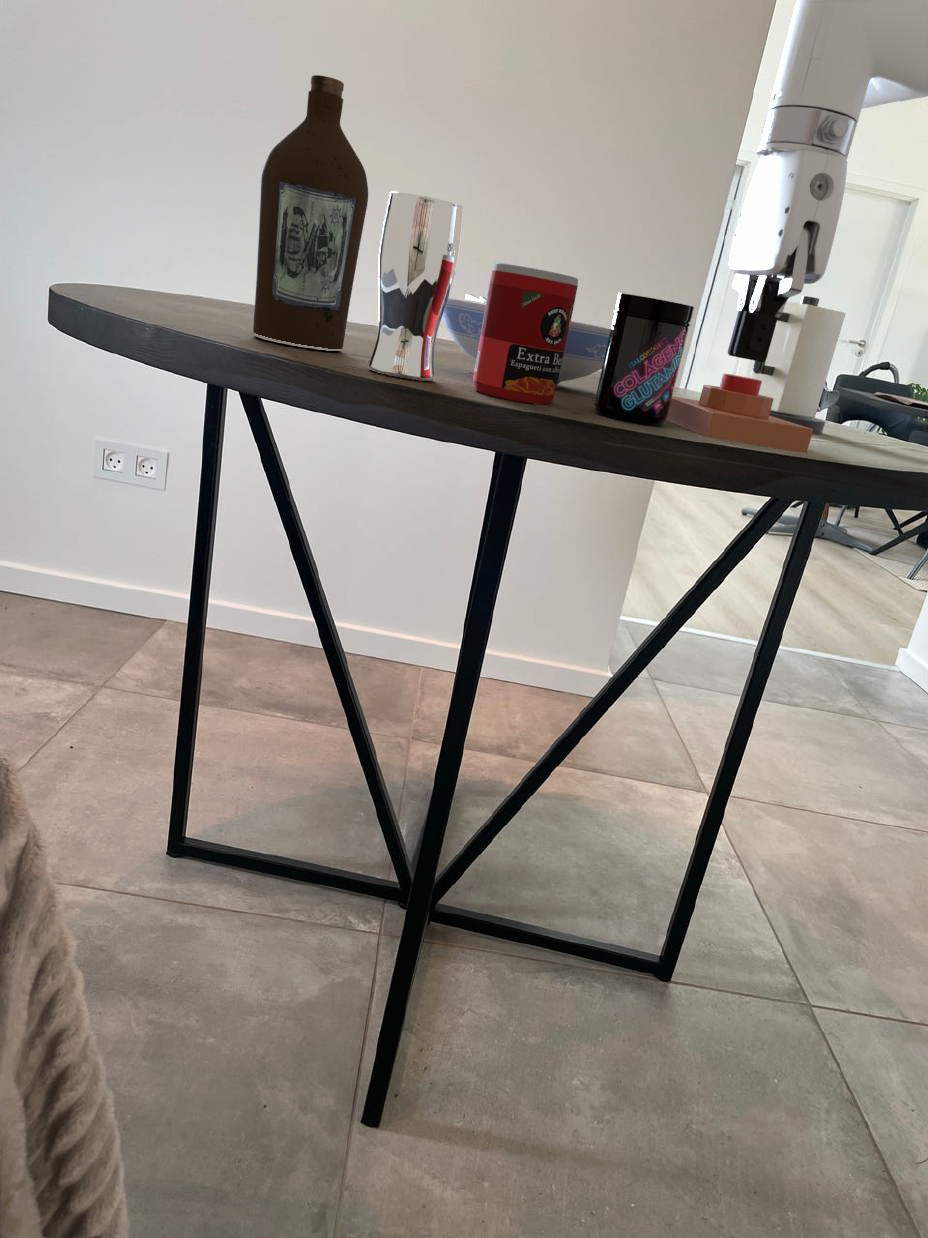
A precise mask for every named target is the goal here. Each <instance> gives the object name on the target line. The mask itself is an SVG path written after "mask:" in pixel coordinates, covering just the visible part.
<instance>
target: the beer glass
mask: <svg viewBox="0 0 928 1238" xmlns="http://www.w3.org/2000/svg"><path fill="white" fill-rule="evenodd" d="M389 193H390V194H389V199H388V204H387V208H386V214H385V217H384V218H385V219H384V221H383V227H382V234H381V239H380V247H379V253H378V314H379V315H378V329H377V335H376V340H375V344H374V347H373V350H372V354H371V357H370V359H369V363H368V368H369V369H371V370H374V371H376V372H380V373H383V374H386V375H391V376H396V377H401V378H407V379H413V380H412V381H414V380H419V381H418V382H423V381H429V382H430V381H432V382H434V380H435V347H436V340H437V336H438V332H439V327H440V326H441V325H440V324H441V322H442V319H443V317H442V315H443V312H444V310H445V307H446V304H447V301H448V298H450V294H451V291H452V288H453V284H454V281H455V277H456V273H457V269H458V264H459V259H460V252H461V245H462V244H461V243H462V234H463V222H464V211H465V207H464V206H463V205H461V204H458V203H455V202H452V201H449V200H444V199H440V198H436V197H431V196H426V195H420V194H414V193H409V192H408V193H407V192H400V191H399V192H398V191H391V192H389ZM369 369H368V370H369ZM386 375H385V376H386ZM391 376H390V377H391ZM396 377H395V378H396ZM401 378H400V379H401ZM407 379H406V380H407ZM429 382H428V383H429Z"/></svg>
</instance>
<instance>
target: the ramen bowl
mask: <svg viewBox="0 0 928 1238" xmlns="http://www.w3.org/2000/svg"><path fill="white" fill-rule="evenodd" d="M466 300H469V301H466ZM486 300H487V297H485V296H479V298H478V297H476V296H474V295H472V294H469V293H465V298H464V300H461V299H455V298H450V297H449V298H448V301H447V304H446V307H445V310H444V312H443V315H442V320H443V321H444V324H445V326H446V328H447V330H448V332H449V335H450V336H451V337H452V339H453V341H454V342H455V344H457V346H458V347H459V348H460V349H462V351H463V352H465V354H467V355H469V356H470V357H471V358H472V359H474V360H475V361H476V359H477V353H478V347H479V341H480V335H481V330H482V324H483V318H484V312H485V306H486ZM477 302H479V303H477ZM610 330H611V327H606V326H599V325H594V324H590V323H583V322H580V321H574V320H571V322H570V327H569V331H568V336H567V341H566V346H565V350H564V355H563V360H562V365H561V369H560V374H559V379H558V384H557V385H559V384H560V383H562V382H568V381H572V380H576V379H580V378H583V377H588V376H590V375H592V374H595V373H597V372H598V371H600V370H602V366H603V361H604V357H605V352H606V348H607V343H608V339H609V334H610Z"/></svg>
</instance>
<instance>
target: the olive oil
mask: <svg viewBox="0 0 928 1238" xmlns="http://www.w3.org/2000/svg"><path fill="white" fill-rule="evenodd" d="M344 87H345V84H344V83H343V81H342V80H339V79H337V78H334V77H330V76H325V75H319V74H315V75H312V76H311V77H310V90H309V91H307V92H308V93H307V102H306V115H305V117H304V119H303V121H302V122H301V123H300V124H298V126H297V127H295V128H294V129H293V130H292V131H291V132H289V133H288V134H287V135H286V136H285V137H284V138H283V139H281V140H280V141H279V142H278V143H277V144H276V145H275V146H274V147H273V148H272V149H271V150H270V152H269V154H268V156H267V158H266V160H265V163H264V166H263V169H262V172H261V179H260V180H261V181H260V199H259V220H258V221H259V224H258V242H257V243H258V244H257V261H256V262H257V263H256V279H255V281H256V282H255V293H254V294H255V295H254V309H253V310H254V311H253V323H252V333H253V332H254V333H256V334H258V335H262V336H265V337H268V338H272V339H276V340H281V341H286V342H291V343H295V344H301V345H307V346H314V347H322V348H328V349H342V350H343V348H344V342H345V335H346V329H347V324H348V316H349V311H350V305H351V304H350V303H351V298H352V292H353V284H354V280H355V274H356V269H357V264H358V258H359V253H360V247H361V241H362V236H363V230H364V225H365V219H366V213H367V209H368V202H369V185H368V177H367V173H366V169H365V167H364V165H363V164H362V163H363V162H361V160H360V158H359V156H358V155H357V153H356V151H355V150H354V148H353V147H352V145H351V143H350V141H349V140H348V138H347V136H346V135H345V132H344V130H343V129H342V126H341V118H342V112H343V104H344V98H343V92H344Z"/></svg>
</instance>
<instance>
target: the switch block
mask: <svg viewBox="0 0 928 1238" xmlns="http://www.w3.org/2000/svg"><path fill="white" fill-rule="evenodd" d="M773 400H774V399H773V398H771V397H767V396H763V395H759V394H758V396H754V395H748V394H743V393H738V392H733V391H728V390H724V389H720V386H719V385H718V386H717V385H710V384H703V386H702V390H701V393H700V397H699V400H696V399H691V398H685V397H680V396H679V397H678V396H674V395H672V399H671V403H670V408H669V412H668V416H667V420H666V421H667V422H669V423H672V424H674V425H677V426H679V427H682V428H684V429H687V430H688V431H689V430H690V431H692V432H694V433H696V434H699V435H701V436H705V437H707V438H713V439H719V440H724V441H730V442H737V443H743V444H744V443H745V444H748V445H755V444H756V445H755V446H761V445H762V447H767V446H768V447H767V448H774V449H780V450H786V451H791V452H792V451H793V452H798V451H799V453H804V452H805V454H807V452H808V449H809V446H810V443H811V439H812V436H813V434H812V433H813V429H811V428H808V427H804V426H801V425H798V424H795V423H792V422H788V421H785V420H782V419H779V418H775V417H772V416H769V414H770V410H771V407H772V403H773Z"/></svg>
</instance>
